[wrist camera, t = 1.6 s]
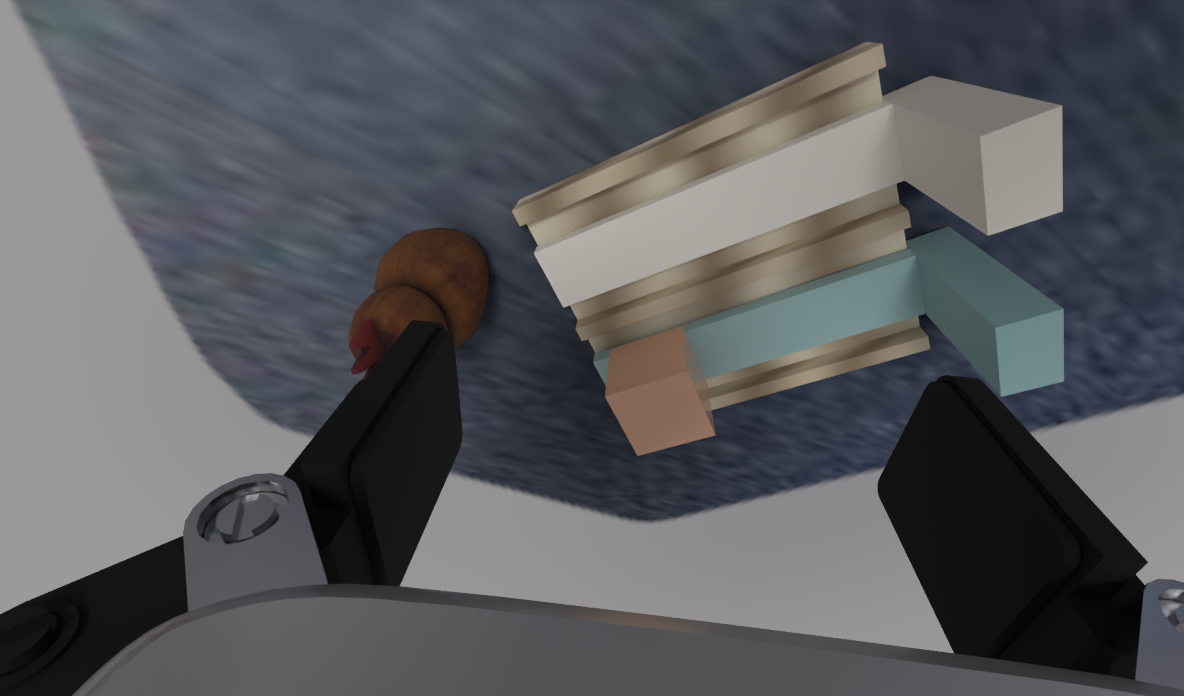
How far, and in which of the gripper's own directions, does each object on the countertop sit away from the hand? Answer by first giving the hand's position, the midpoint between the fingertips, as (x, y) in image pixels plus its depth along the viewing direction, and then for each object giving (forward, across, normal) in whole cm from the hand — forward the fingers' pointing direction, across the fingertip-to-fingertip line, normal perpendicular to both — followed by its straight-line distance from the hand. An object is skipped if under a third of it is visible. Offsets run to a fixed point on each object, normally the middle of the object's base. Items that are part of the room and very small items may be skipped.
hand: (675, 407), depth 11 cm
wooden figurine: (+23, +12, +8) cm, 27 cm away
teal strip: (+23, -8, +10) cm, 26 cm away
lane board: (+23, -5, +6) cm, 24 cm away
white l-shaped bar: (+23, -4, +2) cm, 23 cm away
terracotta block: (+21, -2, +13) cm, 24 cm away
